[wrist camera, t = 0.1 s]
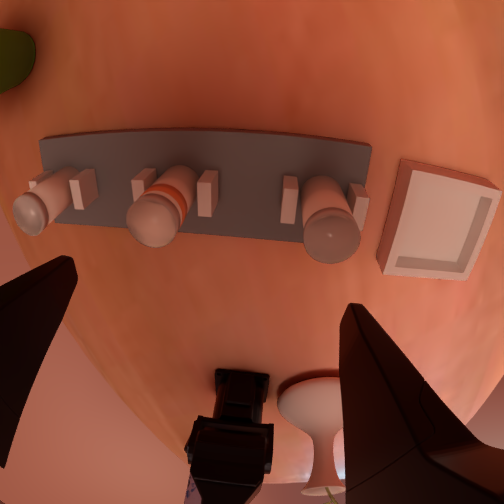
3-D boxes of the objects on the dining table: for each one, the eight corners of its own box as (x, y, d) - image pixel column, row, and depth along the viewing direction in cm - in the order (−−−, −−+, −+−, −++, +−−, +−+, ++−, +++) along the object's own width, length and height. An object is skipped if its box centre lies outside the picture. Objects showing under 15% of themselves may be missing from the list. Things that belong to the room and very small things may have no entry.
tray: (456, 264, 24) (466, 280, 22) (375, 257, 25) (382, 274, 23) (487, 179, 20) (502, 191, 18) (401, 158, 20) (412, 169, 18)
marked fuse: (202, 205, 23) (178, 250, 18) (162, 202, 23) (130, 245, 18) (201, 165, 21) (174, 200, 16) (159, 163, 21) (122, 198, 16)
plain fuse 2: (339, 217, 22) (353, 265, 17) (297, 212, 22) (300, 261, 17) (346, 177, 20) (366, 217, 15) (301, 172, 21) (308, 210, 16)
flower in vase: (260, 396, 38) (240, 576, 18) (317, 356, 33) (316, 586, 12) (331, 420, 41) (331, 572, 21) (390, 387, 36) (409, 564, 15)
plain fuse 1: (87, 199, 23) (47, 237, 18) (60, 199, 23) (19, 234, 18) (82, 164, 21) (36, 196, 16) (54, 166, 22) (8, 196, 17)
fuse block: (348, 240, 24) (356, 265, 21) (60, 217, 26) (41, 236, 23) (368, 143, 20) (382, 157, 17) (45, 137, 21) (20, 149, 18)
